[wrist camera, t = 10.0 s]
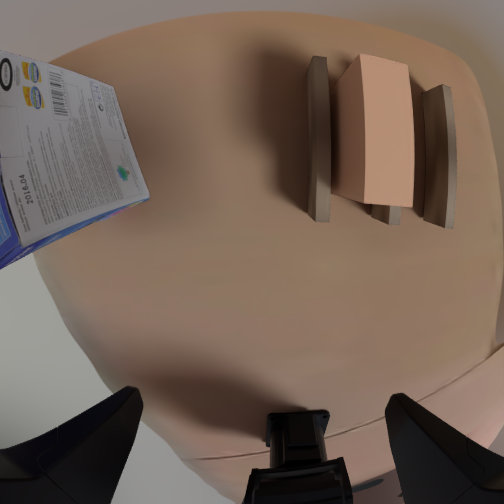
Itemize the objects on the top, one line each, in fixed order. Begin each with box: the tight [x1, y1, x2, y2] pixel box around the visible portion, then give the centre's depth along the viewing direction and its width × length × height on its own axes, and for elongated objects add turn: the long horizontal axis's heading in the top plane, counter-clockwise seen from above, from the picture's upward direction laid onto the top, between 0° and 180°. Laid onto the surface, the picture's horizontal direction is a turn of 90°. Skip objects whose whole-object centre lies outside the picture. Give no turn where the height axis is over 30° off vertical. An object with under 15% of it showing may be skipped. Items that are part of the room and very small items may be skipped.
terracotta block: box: [329, 53, 414, 207], centre depth 13 cm, size 7×2×7 cm, turn 0°
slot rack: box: [307, 56, 457, 229], centre depth 15 cm, size 10×10×3 cm
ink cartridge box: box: [0, 51, 150, 269], centre depth 10 cm, size 10×6×14 cm, turn 20°
